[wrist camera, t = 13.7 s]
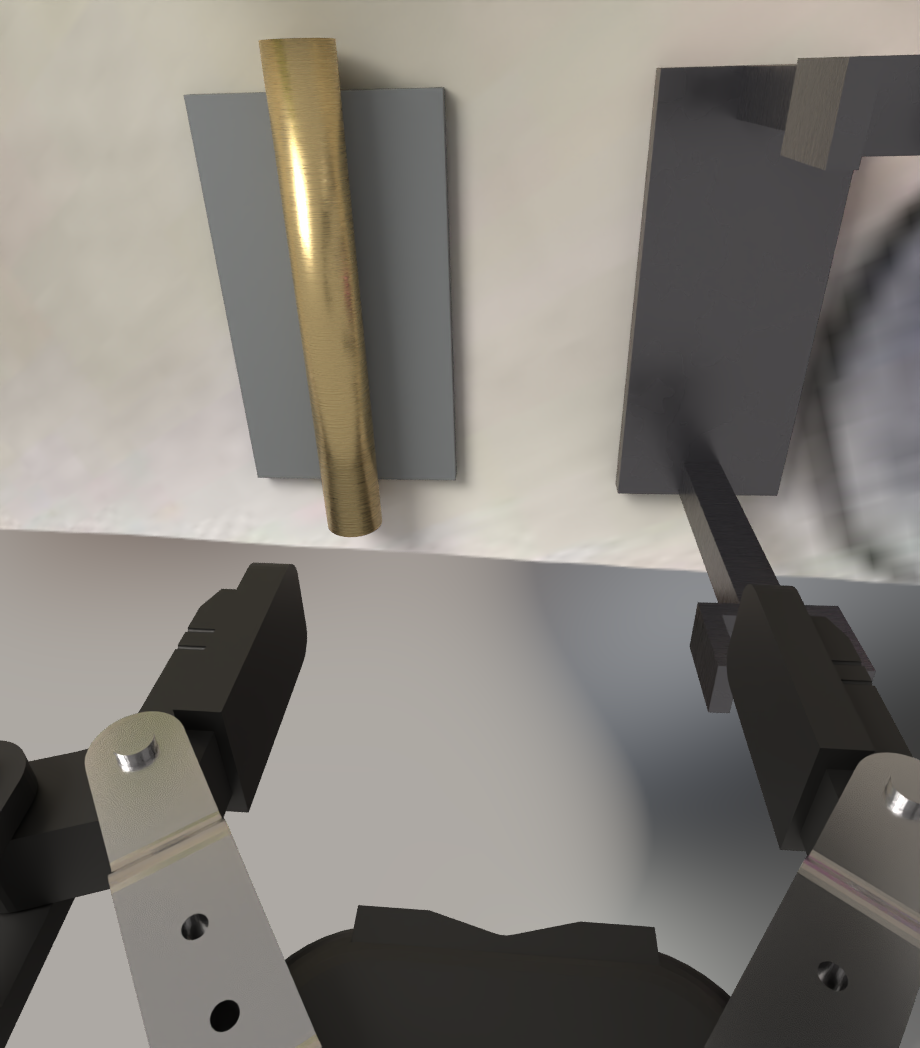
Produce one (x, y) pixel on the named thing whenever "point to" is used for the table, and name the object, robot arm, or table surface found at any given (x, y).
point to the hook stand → (742, 294)
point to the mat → (383, 270)
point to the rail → (324, 271)
